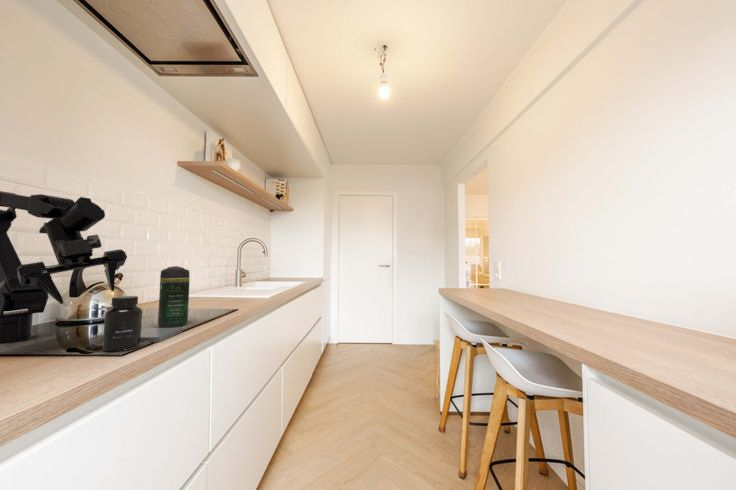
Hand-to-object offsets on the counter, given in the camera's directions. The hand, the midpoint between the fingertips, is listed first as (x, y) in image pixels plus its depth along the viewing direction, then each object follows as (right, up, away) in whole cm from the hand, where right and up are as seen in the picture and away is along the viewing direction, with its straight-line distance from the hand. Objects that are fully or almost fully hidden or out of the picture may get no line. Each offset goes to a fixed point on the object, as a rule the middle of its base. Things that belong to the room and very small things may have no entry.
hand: (88, 296), depth 70 cm
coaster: (+10, -12, +8) cm, 17 cm away
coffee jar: (+6, -13, +22) cm, 26 cm away
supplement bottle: (+10, -12, -2) cm, 15 cm away
